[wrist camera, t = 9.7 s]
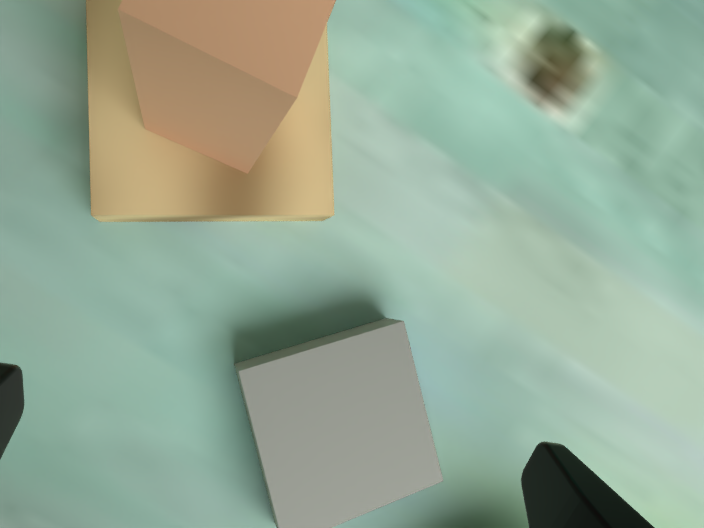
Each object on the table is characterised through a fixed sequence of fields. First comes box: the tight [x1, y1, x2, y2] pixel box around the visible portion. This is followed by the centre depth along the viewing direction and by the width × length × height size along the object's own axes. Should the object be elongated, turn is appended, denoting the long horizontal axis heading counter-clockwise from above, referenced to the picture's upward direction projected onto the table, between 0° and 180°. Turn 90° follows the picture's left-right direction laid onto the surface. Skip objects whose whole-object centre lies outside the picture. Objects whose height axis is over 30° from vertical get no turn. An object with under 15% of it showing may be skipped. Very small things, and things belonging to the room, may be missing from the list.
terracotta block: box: [118, 0, 336, 174], centre depth 16 cm, size 4×4×9 cm
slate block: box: [234, 318, 443, 528], centre depth 22 cm, size 7×7×2 cm
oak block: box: [86, 0, 334, 222], centre depth 21 cm, size 9×9×2 cm
